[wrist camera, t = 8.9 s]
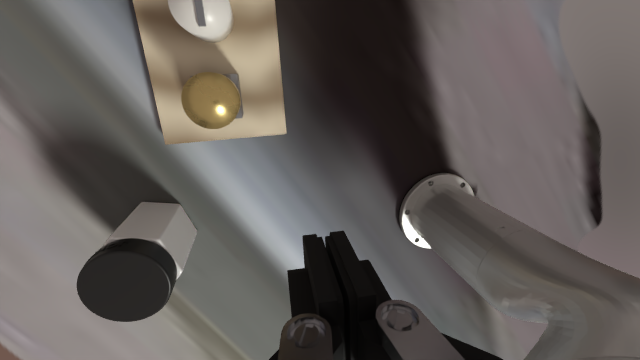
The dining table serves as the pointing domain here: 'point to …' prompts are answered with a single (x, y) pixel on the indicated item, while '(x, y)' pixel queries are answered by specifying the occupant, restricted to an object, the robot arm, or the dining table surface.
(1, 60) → the dining table surface
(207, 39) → the dial
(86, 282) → the jar
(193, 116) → the knob
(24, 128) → the dining table surface
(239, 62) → the mount board
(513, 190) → the dining table surface
